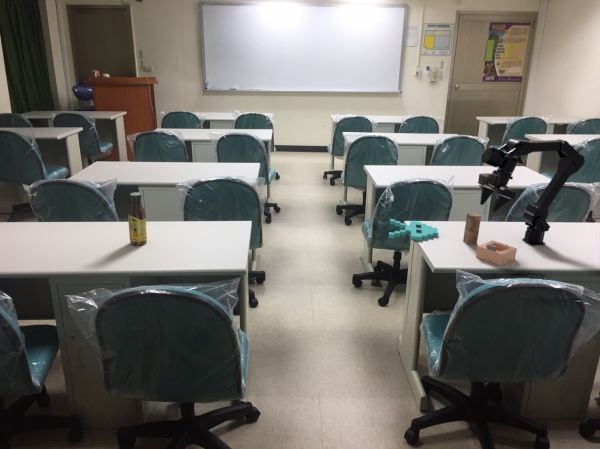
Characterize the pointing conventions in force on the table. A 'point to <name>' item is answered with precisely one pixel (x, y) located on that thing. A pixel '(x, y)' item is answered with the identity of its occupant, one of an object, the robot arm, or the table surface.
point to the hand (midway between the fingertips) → (487, 208)
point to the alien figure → (414, 230)
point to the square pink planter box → (496, 252)
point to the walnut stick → (472, 228)
